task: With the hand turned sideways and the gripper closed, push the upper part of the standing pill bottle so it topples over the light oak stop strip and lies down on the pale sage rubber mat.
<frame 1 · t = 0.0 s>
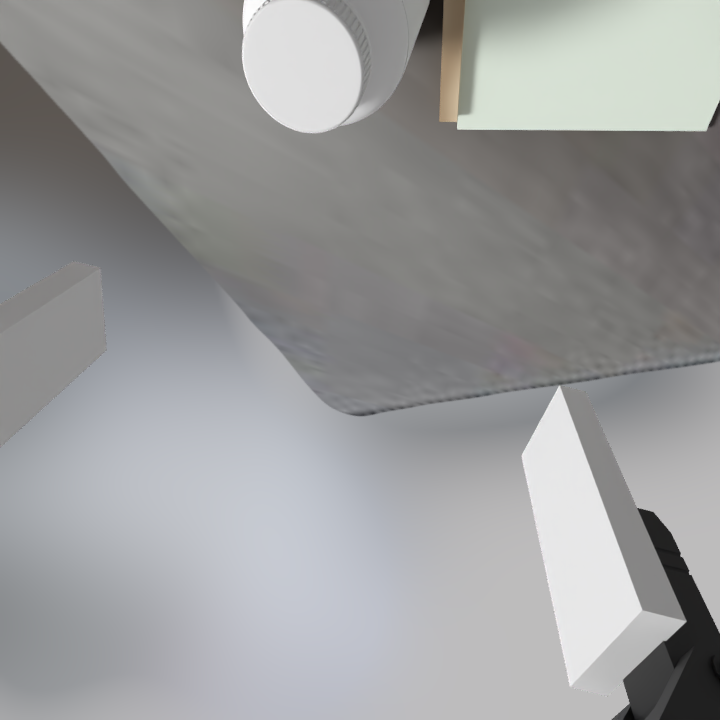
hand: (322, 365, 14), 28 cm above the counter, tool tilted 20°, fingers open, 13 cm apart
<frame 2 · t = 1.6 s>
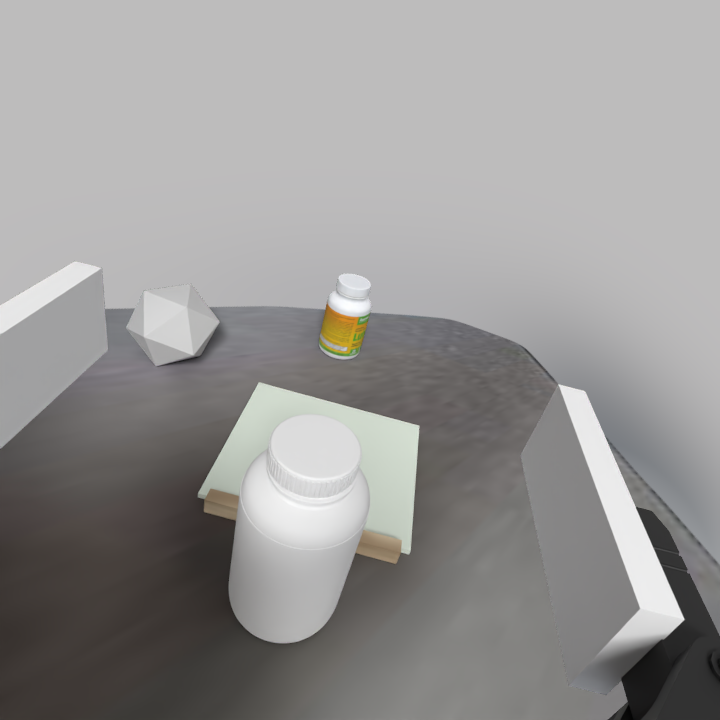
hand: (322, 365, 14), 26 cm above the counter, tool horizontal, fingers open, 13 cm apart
supplement bottle: (338, 349, 65), on the counter
stop strip: (303, 526, 40), on the counter
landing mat: (323, 458, 48), on the counter
die: (173, 355, 56), on the counter
pill bottle: (282, 592, 37), on the counter
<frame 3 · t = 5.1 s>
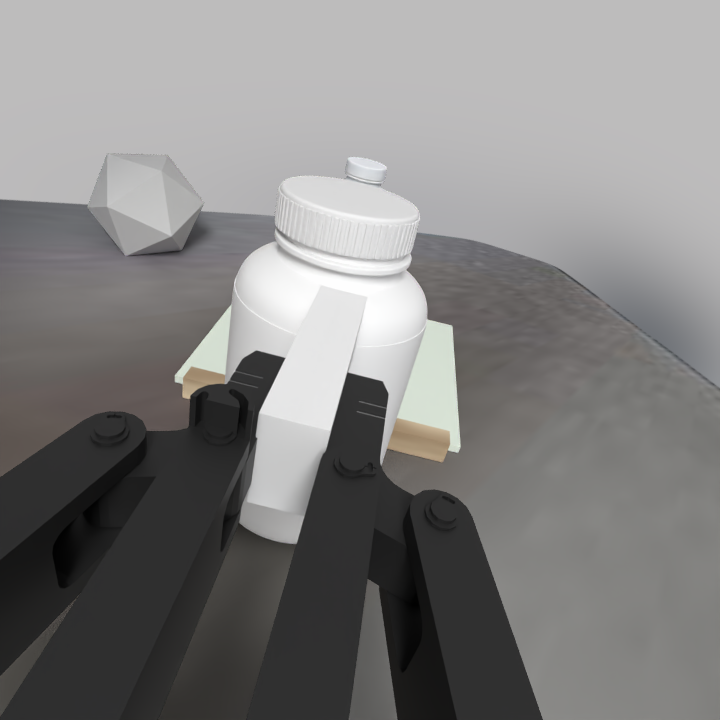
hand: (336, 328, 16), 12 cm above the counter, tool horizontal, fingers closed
supplement bottle: (347, 256, 54), on the counter
stop strip: (316, 414, 30), on the counter
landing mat: (337, 351, 38), on the counter
die: (147, 248, 46), on the counter
pill bottle: (293, 488, 26), on the counter, touching gripper
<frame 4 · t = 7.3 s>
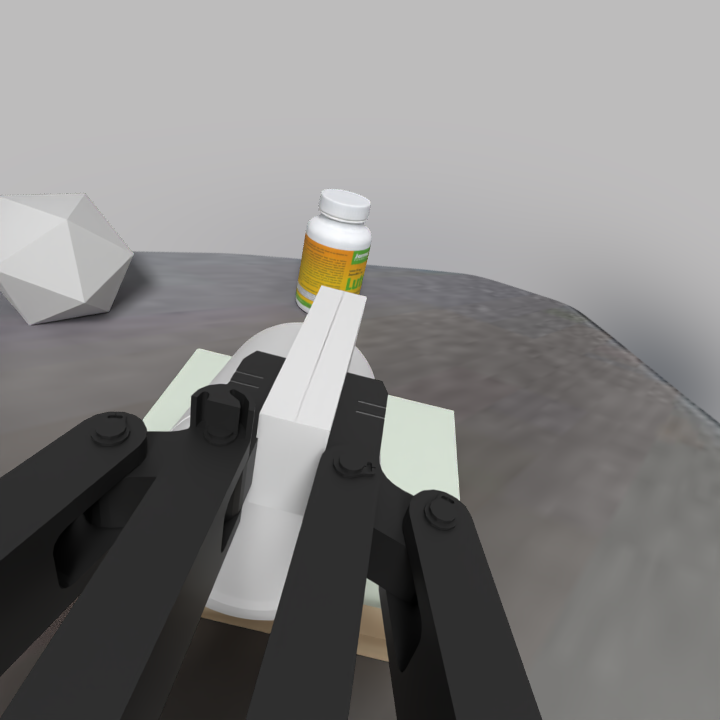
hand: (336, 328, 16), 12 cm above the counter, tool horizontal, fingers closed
supplement bottle: (324, 308, 44), on the counter
stop strip: (256, 604, 20), on the counter
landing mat: (299, 467, 28), on the counter
die: (64, 310, 36), on the counter
pill bottle: (254, 531, 15), point 7 cm above the counter, touching gripper, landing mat
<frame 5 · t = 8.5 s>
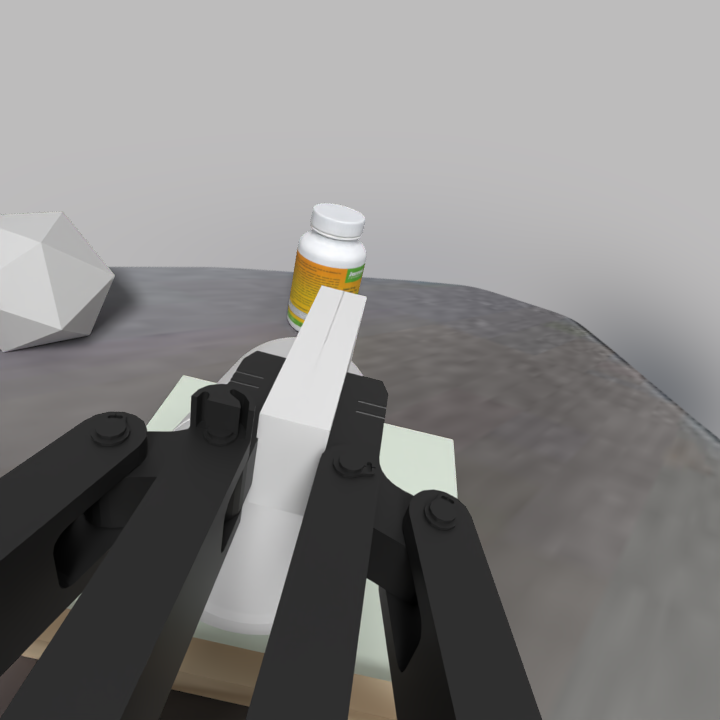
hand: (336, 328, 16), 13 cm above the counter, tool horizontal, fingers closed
supplement bottle: (317, 325, 43), on the counter
stop strip: (241, 676, 19), on the counter
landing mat: (290, 508, 26), on the counter
die: (41, 334, 34), on the counter
pill bottle: (253, 537, 15), point 8 cm above the counter, touching gripper, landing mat
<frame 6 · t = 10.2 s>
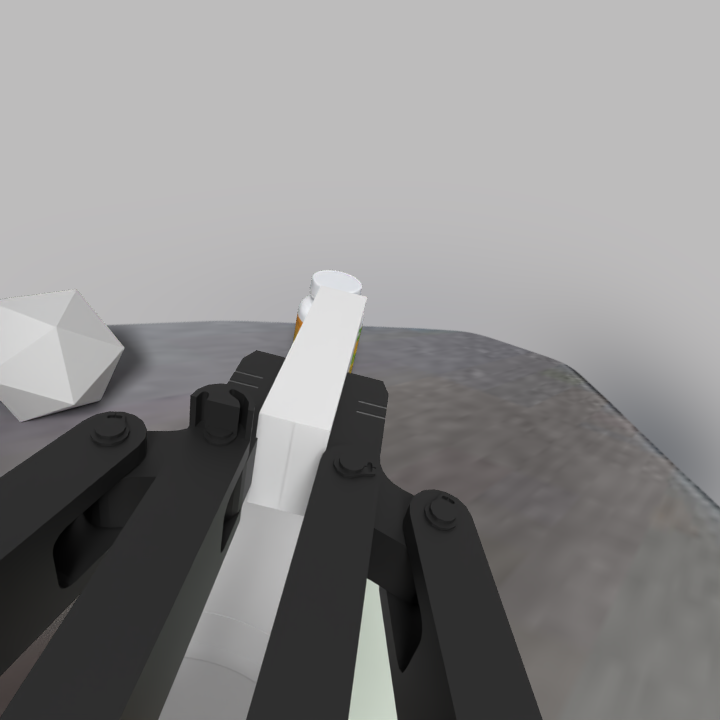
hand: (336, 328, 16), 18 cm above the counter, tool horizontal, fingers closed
supplement bottle: (317, 381, 45), on the counter
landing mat: (284, 582, 28), on the counter
die: (55, 401, 36), on the counter
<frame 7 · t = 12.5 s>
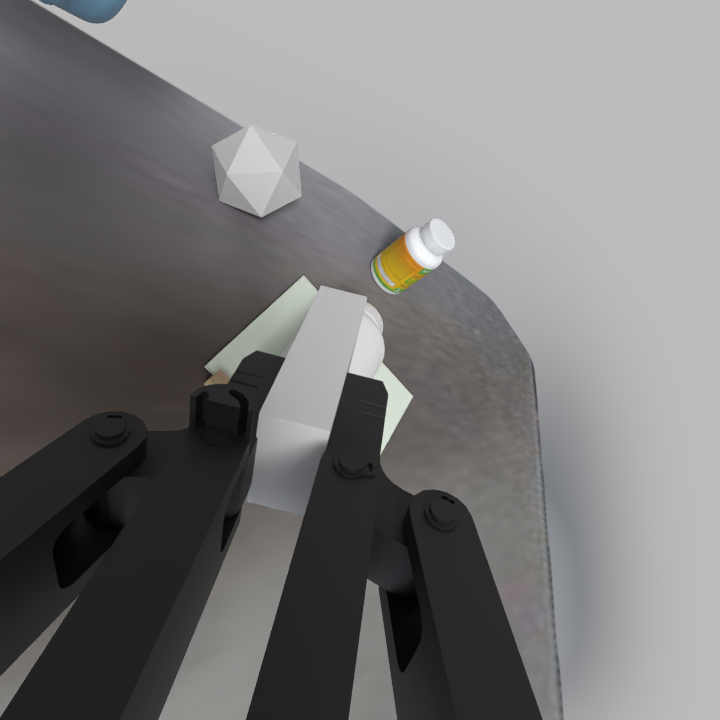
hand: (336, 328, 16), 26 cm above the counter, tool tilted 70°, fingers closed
supplement bottle: (385, 277, 63), on the counter
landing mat: (322, 384, 49), on the counter
die: (239, 196, 52), on the counter
pill bottle: (291, 420, 39), point 6 cm above the counter, touching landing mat, stop strip
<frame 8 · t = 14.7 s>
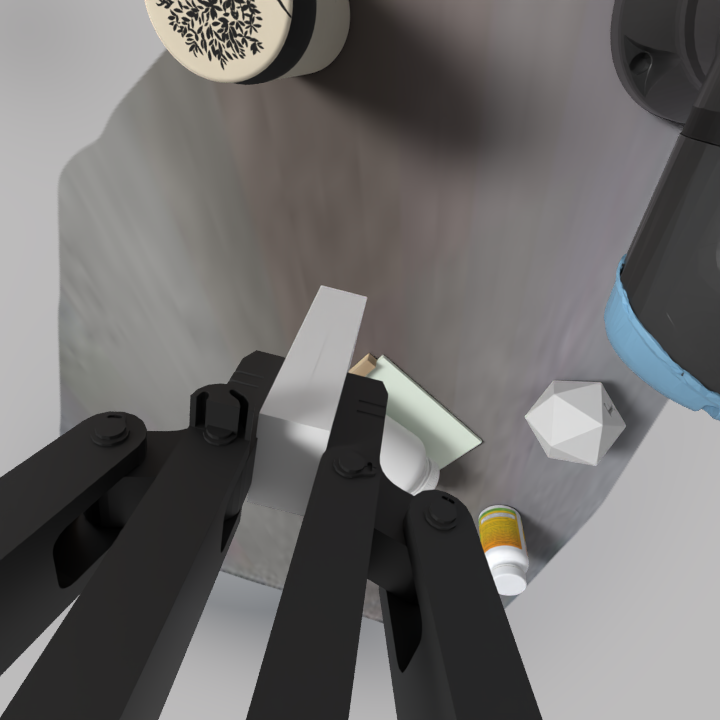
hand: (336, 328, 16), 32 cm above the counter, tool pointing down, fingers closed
supplement bottle: (499, 516, 66), on the counter
stop strip: (325, 400, 58), on the counter
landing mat: (379, 439, 61), on the counter
die: (565, 398, 55), on the counter
pill bottle: (320, 415, 53), point 6 cm above the counter, touching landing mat, stop strip
travel mug: (301, 15, 39), on the counter
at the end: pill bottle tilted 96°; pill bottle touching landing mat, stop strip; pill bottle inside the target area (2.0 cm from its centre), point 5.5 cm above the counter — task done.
